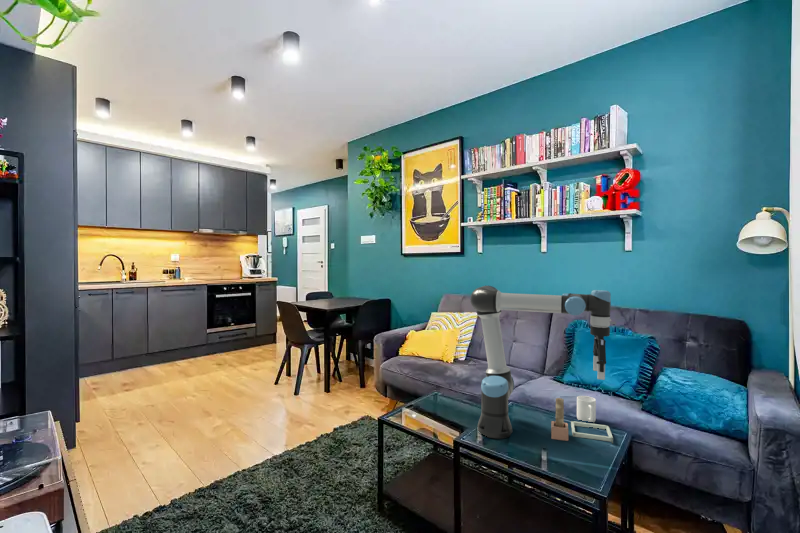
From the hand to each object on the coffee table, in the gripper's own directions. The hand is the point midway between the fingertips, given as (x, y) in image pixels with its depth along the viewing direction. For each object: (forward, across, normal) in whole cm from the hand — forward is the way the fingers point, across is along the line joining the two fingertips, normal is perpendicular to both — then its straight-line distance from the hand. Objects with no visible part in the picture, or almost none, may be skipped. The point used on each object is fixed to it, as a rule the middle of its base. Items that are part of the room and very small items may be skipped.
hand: (598, 374), depth 173 cm
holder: (+27, -8, +16) cm, 32 cm away
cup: (+27, +16, +2) cm, 32 cm away
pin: (+26, -8, +16) cm, 31 cm away
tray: (+27, 0, +2) cm, 27 cm away
